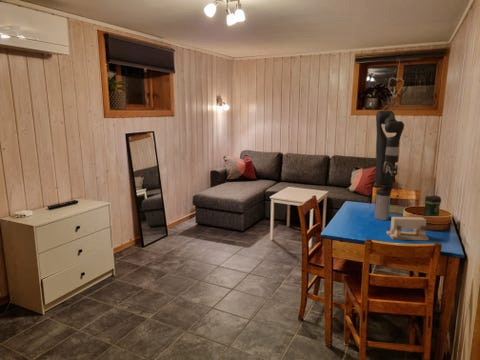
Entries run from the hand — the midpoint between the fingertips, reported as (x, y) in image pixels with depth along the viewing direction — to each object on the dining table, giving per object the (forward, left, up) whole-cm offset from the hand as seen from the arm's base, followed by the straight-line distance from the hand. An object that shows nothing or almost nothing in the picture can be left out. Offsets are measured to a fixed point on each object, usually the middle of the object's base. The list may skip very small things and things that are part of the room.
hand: (390, 180), depth 211 cm
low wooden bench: (+12, +8, -32) cm, 35 cm away
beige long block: (+12, +8, -27) cm, 30 cm away
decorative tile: (-44, +24, -33) cm, 60 cm away
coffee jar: (-18, +36, -32) cm, 52 cm away
